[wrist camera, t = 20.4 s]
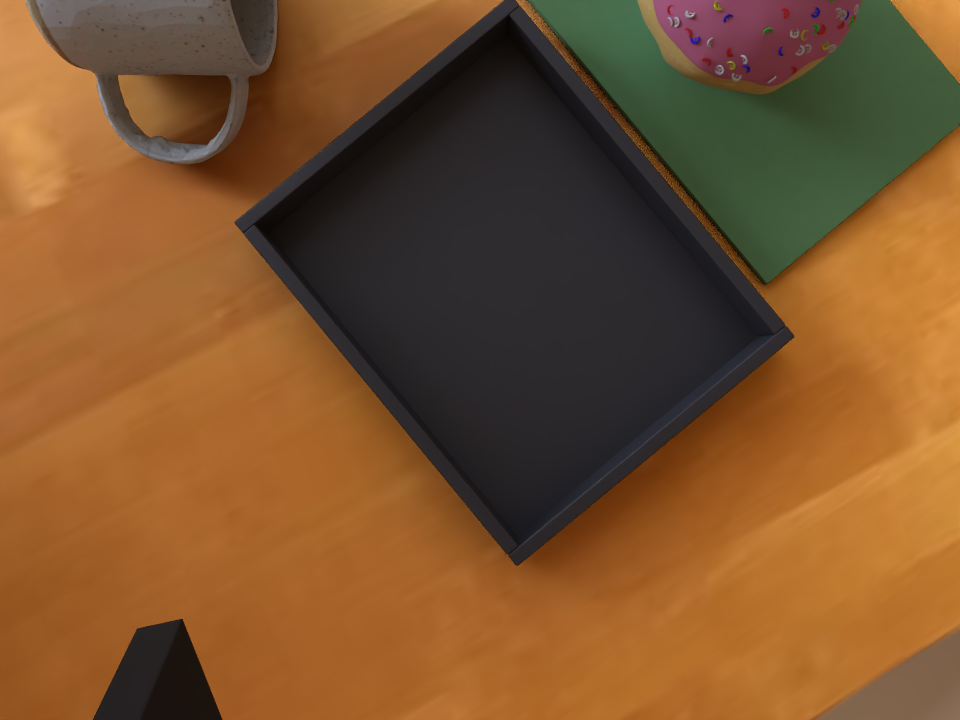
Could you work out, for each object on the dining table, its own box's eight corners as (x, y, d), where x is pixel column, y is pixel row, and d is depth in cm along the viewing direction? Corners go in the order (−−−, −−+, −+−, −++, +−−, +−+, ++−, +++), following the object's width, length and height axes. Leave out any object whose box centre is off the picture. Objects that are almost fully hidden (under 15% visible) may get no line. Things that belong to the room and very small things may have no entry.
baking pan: (250, 231, 37) (233, 221, 35) (509, 19, 37) (510, -7, 35) (514, 553, 37) (517, 567, 34) (774, 338, 37) (795, 336, 34)
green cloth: (472, -65, 37) (472, -70, 37) (682, -238, 37) (684, -244, 37) (764, 285, 37) (767, 284, 37) (975, 110, 37) (980, 107, 37)
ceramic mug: (90, -66, 37) (-13, -176, 30) (275, -76, 37) (221, -188, 30) (102, 174, 37) (3, 127, 30) (287, 165, 37) (236, 115, 30)
